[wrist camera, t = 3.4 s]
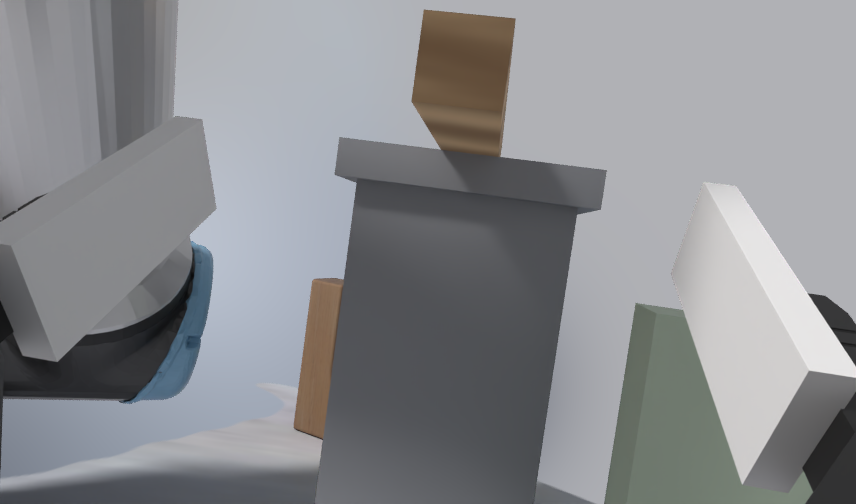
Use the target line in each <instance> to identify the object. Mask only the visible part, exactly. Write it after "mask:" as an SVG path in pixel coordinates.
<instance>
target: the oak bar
mask: <svg viewBox="0 0 856 504" xmlns="http://www.w3.org/2000/svg"><path fill="white" fill-rule="evenodd" d="M514 28H515V19H514V18H504V17H494V16H484V15H473V14H463V13H453V12H442V11H432V10H424V14H423V20H422V28H421V35H420V43H419V50H418V57H417V65H416V73H415V80H414V87H413V95H412V103H413V105H414V106H415V108H416V109H417V111H418V113H419V114H420V116H421V118H422V119H423V121H424V122H425V124H426V126H427V127H428V129H429V131H430V132H431V134H432V135H433V137H434V139H435V140H436V142H437V144H438V145H439V147H440V148H441V150H447V151H455V152H463V153H471V154H479V155H487V156H495V157H500V155H501V148H502V138H503V130H504V120H505V111H506V102H507V93H508V83H509V73H510V65H511V55H512V46H513V37H514Z"/></svg>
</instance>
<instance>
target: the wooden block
mask: <svg viewBox="0 0 856 504" xmlns="http://www.w3.org/2000/svg"><path fill="white" fill-rule="evenodd" d="M343 283H344V280H342V279H337V278H324V279H314V280H313V281H312V287H311V296H310V303H309V311H308V319H307V326H306V334H305V342H304V350H303V357H302V365H301V373H300V381H299V388H298V396H297V404H296V412H295V420H294V428H295V429H297V430H299V431H302V432H305V433H308V434H310V435H313V436H316V437H318V438H321V439H323V436H324V428H325V420H326V413H327V405H328V398H329V390H330V382H331V375H332V367H333V360H334V352H335V344H336V337H337V329H338V322H339V314H340V306H341V299H342V291H343Z"/></svg>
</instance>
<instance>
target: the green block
mask: <svg viewBox="0 0 856 504" xmlns="http://www.w3.org/2000/svg"><path fill="white" fill-rule="evenodd" d="M812 493H813V491H812V489H811V486H810V484H809V482H808V480H807V478H806V475H805V473H804V471H803V472H802V473H801V475H800V476H799V478H798V479H797V481H796V482H795V484H794V485H793V487H792V488H791V490H790V491H789V493H784V492H779V491H773V490H768V489H762V488H756V487H751V486H745V485H742V483H741V480H740V477H739V474H738V471H737V468H736V465H735V462H734V459H733V456H732V453H731V450H730V447H729V444H728V442H727V439H726V436H725V433H724V430H723V427H722V424H721V421H720V418H719V415H718V412H717V409H716V406H715V403H714V400H713V397H712V394H711V391H710V388H709V385H708V382H707V379H706V376H705V373H704V370H703V367H702V364H701V362H700V359H699V356H698V353H697V350H696V347H695V344H694V341H693V338H692V335H691V332H690V329H689V326H688V323H687V320H686V317H685V314H684V311H683V310H679V309H672V308H665V307H658V306H651V305H645V304H638V303H636V305H635V312H634V318H633V325H632V330H631V337H630V343H629V349H628V356H627V363H626V369H625V375H624V381H623V388H622V394H621V401H620V407H619V413H618V420H617V426H616V432H615V439H614V445H613V451H612V458H611V465H610V471H609V477H608V483H607V490H606V496H605V502H604V504H805V503H806V501H807V500H808V499H809V497H810V496H811V494H812Z"/></svg>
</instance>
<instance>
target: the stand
mask: <svg viewBox="0 0 856 504" xmlns="http://www.w3.org/2000/svg"><path fill="white" fill-rule="evenodd" d="M606 172H607V171H606V170H599V169H591V168H584V167H576V166H568V165H560V164H552V163H544V162H535V161H527V160H519V159H511V158H503V157H495V156H487V155H479V154H471V153H463V152H455V151H447V150H438V149H430V148H422V147H414V146H406V145H398V144H389V143H382V142H373V141H366V140H358V139H350V138H342V137H340V138H339V145H338V153H337V161H336V168H335V175H337V176H340V177H343V178H345V179H348V180H351V181H353V182H356V183H357V185H356V192H355V200H354V208H353V215H352V223H351V231H350V238H349V246H348V253H347V261H346V269H345V276H344V283H343V291H342V299H341V306H340V314H339V322H338V329H337V337H336V344H335V352H334V360H333V367H332V375H331V382H330V390H329V398H328V405H327V413H326V420H325V428H324V436H323V443H322V451H321V459H320V466H319V474H318V481H317V489H316V497H315V504H533V502H534V496H535V489H536V482H537V476H538V469H539V463H540V456H541V449H542V443H543V436H544V429H545V422H546V416H547V409H548V402H549V396H550V389H551V382H552V376H553V369H554V363H555V356H556V350H557V343H558V336H559V330H560V322H561V316H562V309H563V303H564V297H565V290H566V283H567V277H568V270H569V263H570V257H571V250H572V244H573V236H574V230H575V223H576V217H577V214H582V213H587V212H592V211H596V210H600V209H601V204H602V198H603V191H604V185H605V177H606Z"/></svg>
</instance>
